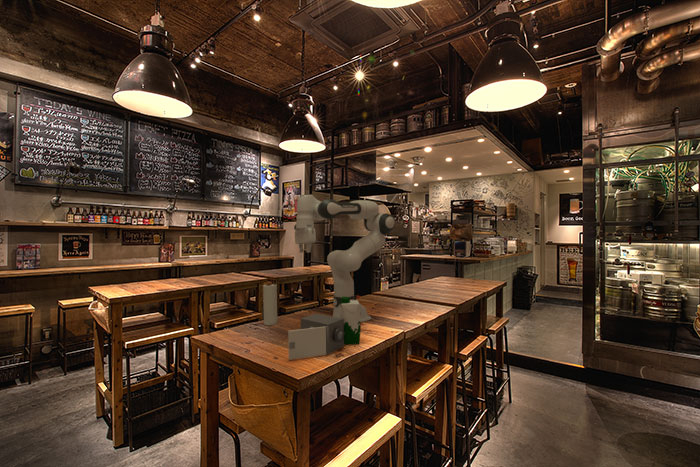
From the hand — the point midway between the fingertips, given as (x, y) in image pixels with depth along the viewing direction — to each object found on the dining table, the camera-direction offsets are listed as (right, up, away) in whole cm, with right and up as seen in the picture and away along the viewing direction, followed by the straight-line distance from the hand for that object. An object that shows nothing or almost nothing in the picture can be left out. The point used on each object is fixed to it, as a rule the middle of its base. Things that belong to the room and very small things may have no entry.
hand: (304, 252), depth 159 cm
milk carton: (+23, -39, -19) cm, 50 cm away
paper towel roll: (-20, -40, +10) cm, 46 cm away
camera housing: (+12, -39, -25) cm, 48 cm away
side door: (+7, -39, -36) cm, 54 cm away
